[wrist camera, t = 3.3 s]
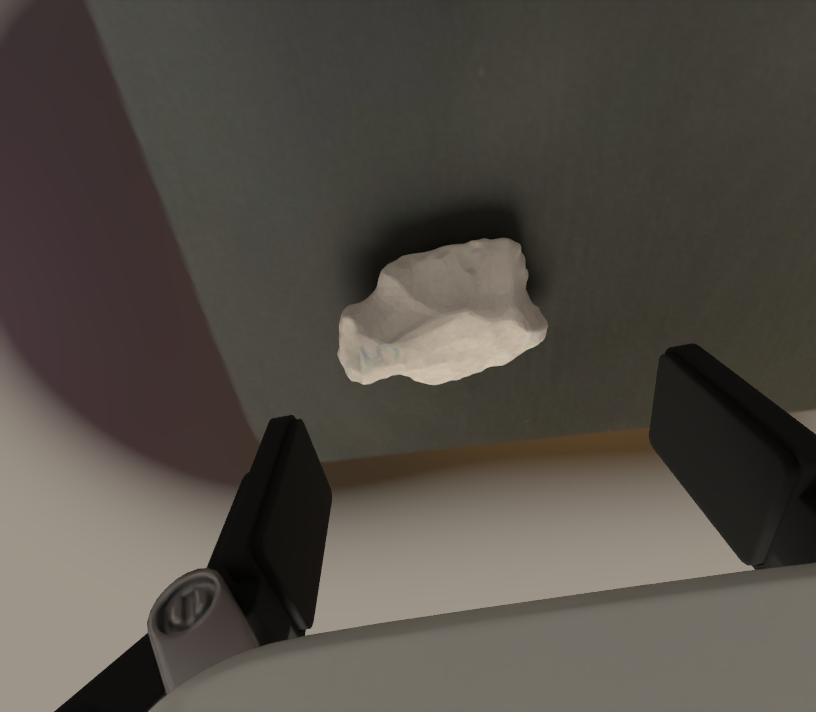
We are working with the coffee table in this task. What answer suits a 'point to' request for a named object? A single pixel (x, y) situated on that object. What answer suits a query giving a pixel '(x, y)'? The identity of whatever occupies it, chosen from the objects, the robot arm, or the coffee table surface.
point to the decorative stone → (442, 315)
